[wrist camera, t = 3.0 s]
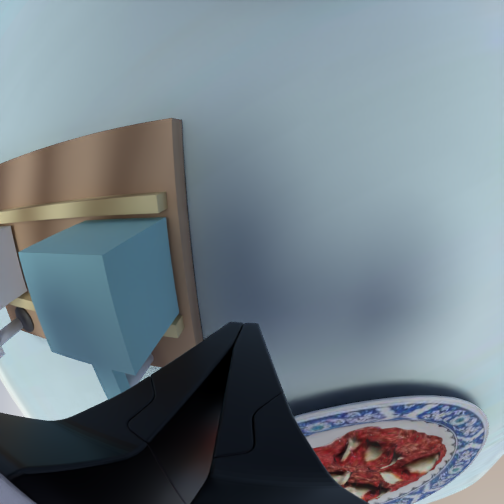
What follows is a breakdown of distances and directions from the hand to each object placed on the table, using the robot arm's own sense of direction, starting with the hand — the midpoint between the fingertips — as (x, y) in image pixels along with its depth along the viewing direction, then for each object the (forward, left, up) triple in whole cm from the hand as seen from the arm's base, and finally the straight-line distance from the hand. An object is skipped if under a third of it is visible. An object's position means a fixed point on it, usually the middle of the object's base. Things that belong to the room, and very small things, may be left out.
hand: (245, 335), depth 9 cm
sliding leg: (+7, +2, -5) cm, 9 cm away
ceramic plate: (-8, +21, -7) cm, 24 cm away
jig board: (+14, 0, -7) cm, 15 cm away
